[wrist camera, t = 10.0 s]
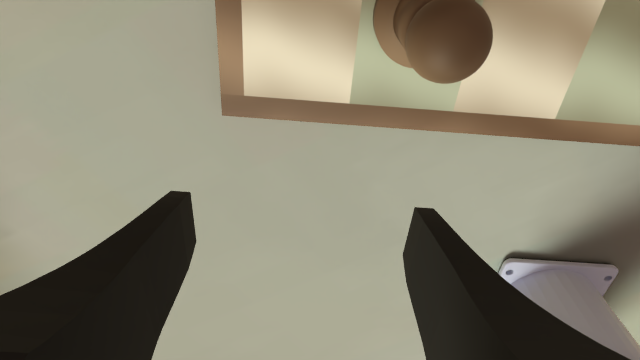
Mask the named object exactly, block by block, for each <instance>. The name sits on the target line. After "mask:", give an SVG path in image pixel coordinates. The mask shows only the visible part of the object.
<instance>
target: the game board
mask: <svg viewBox="0 0 640 360" xmlns="http://www.w3.org/2000/svg"><path fill="white" fill-rule="evenodd" d="M375 2H376V0H215V6H216V23H217V39H218V55H219V71H220V87H221V104H222V115H224V116H237V117H251V118H264V119H278V120H292V121H305V122H319V123H332V124H346V125H359V126H373V127H387V128H400V129H414V130H427V131H441V132H455V133H468V134H482V135H495V136H509V137H522V138H536V139H550V140H563V141H577V142H590V143H604V144H617V145H631V146H640V0H475V2H477V3H478V4H479V5H481V6H482V7H483V9H484V10H485V11H486V13H487V14H488V16H489V18H490V21H491V24H492V29H493V42H492V47H491V50H490V53H489V55H488V57H487V59H486V60H485V62H484V63H483V65H482V66H481V67H480V68H479V69H478V70H477V71H476V72H475V73H473V74H472V75H471V76H469V77H468V78H466V79H464V80H461V81H459V82H455V83H449V84H440V83H434V82H431V81H429V80H426V79H424V78H423V77H421V76H420V75H419V74H418V73H417V72H416V71H415V70H414V69H413V68H408V67H404V66H402V65H400V64H397V63H396V62H394V61H393V60H392V59H390V58H389V57H388V56H387V55H386V54H385V52H384V51H383V49H382V48H381V46H380V44H379V42H378V40H377V37H376V35H375V32H374V27H373V10H374V5H375Z"/></svg>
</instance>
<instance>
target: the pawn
mask: <svg viewBox="0 0 640 360" xmlns="http://www.w3.org/2000/svg"><path fill="white" fill-rule="evenodd" d="M373 27H374V32H375V35H376V37H377V40H378V42H379V44H380V46H381V48H382V49H383V51H384V52H385V54H386V55H387V56H388V57H389V58H390V59H392V60H393V61H394V62H396V63H397V64H400V65H402V66H404V67H408V68H413V69H414V70H415V71H416V72H417V73H418V74H419V75H420V76H421V77H423V78H424V79H426V80H429V81H431V82H434V83H440V84H449V83H455V82H459V81H461V80H464V79H466V78H468V77H469V76H471V75H472V74H473V73H475V72H476V71H477V70H478V69H479V68H480V67H481V66H482V65H483V63H484V62H485V60H486V59H487V57H488V55H489V53H490V50H491V47H492V42H493V29H492V24H491V21H490V18H489V16H488V14H487V13H486V11H485V10H484V9H483V7H482V6H481V5H479V4H478V3H477V2H475V0H376V2H375V5H374V10H373Z"/></svg>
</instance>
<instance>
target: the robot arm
mask: <svg viewBox="0 0 640 360" xmlns="http://www.w3.org/2000/svg"><path fill="white" fill-rule="evenodd" d="M195 244H196V235H195V227H194V218H193V210H192V202H191V194H190V192H180V191H170V192H169V193H168V194H166V195H165V196H164V197H162V198H161V199H160V200H158V201H157V202H156V203H155V204H153V205H152V206H151V207H150V208H148V209H147V210H146V211H144V212H143V213H142V214H140V215H139V216H138V217H137V218H135V219H134V220H133V221H131V222H130V223H129V224H127V225H126V226H125V227H123V228H122V229H120V230H119V231H117V232H116V233H114V234H113V235H112V236H110V237H109V238H107V239H106V240H104V241H103V242H101V243H100V244H98V245H97V246H95V247H94V248H92V249H91V250H89V251H87V252H86V253H84V254H82V255H81V256H79V257H77V258H76V259H74V260H72V261H70V262H69V263H67V264H65V265H63V266H61V267H59V268H58V269H56V270H54V271H52V272H50V273H48V274H46V275H43V276H41V277H39V278H37V279H35V280H33V281H31V282H29V283H27V284H25V285H23V286H21V287H19V288H16V289H14V290H12V291H10V292H7V293H5V294H3V295H0V360H151V359H152V356H153V353H154V350H155V347H156V344H157V341H158V338H159V336H160V333H161V331H162V328H163V326H164V324H165V321H166V319H167V317H168V315H169V312H170V310H171V308H172V306H173V303H174V301H175V299H176V297H177V294H178V292H179V290H180V287H181V285H182V283H183V280H184V278H185V276H186V273H187V271H188V269H189V265H190V262H191V259H192V255H193V252H194V248H195ZM403 260H404V269H405V276H406V283H407V287H408V290H409V294H410V298H411V302H412V306H413V309H414V313H415V317H416V320H417V324H418V328H419V332H420V335H421V339H422V343H423V347H424V351H425V356H426V360H640V346H639V345H638V343H637V342H636V341H635V339H634V338H633V337H632V335H631V334H630V333H629V331H628V330H627V329H626V327H625V326H624V325H623V323H622V322H621V321H620V319H619V318H618V317H617V315H616V314H615V313H614V311H613V310H612V309H611V307H610V306H609V305H608V303H607V302H606V301H605V299H604V298H603V295H604V294H605V292H606V291H607V289H608V288H609V286H610V285H611V283H612V282H613V280H614V279H615V277H616V276H617V274H618V272H619V271H618V269H617V268H616V266H614V265H609V264H593V263H578V262H562V261H546V260H531V259H515V258H510V259H507V260H505V261H504V262H503V264H502V266H501V269H500V271H499V273H497V272H496V271H495V270H493V269H492V268H491V267H490V266H489V265H488V264H487V263H486V262H485V261H484V260H482V259H481V258H480V257H479V256H478V255H477V254H476V253H475V252H474V251H473V250H472V249H471V248H470V247H469V246H468V245H467V244H466V243H465V242H464V241H463V240H462V239H461V237H460V236H459V235H458V234H457V233H456V232H455V231H454V230H453V229H452V228H451V227H450V226H449V225H448V223H447V222H446V221H445V220H444V219H443V218H442V217H441V216H440V215H439V214H438V213H437V212H436V211H435V210H434V209H432V208H417V207H415V208H414V212H413V216H412V220H411V224H410V228H409V232H408V236H407V240H406V244H405V248H404V252H403ZM508 270H509V271H508Z"/></svg>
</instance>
